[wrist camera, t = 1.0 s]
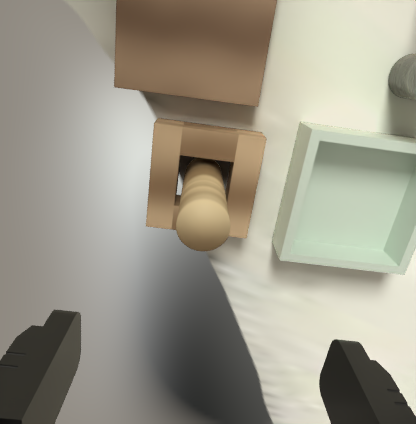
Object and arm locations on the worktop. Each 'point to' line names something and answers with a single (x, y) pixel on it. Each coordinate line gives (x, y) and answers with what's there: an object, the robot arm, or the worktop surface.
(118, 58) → the plate
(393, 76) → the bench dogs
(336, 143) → the tray
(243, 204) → the holder block
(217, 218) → the dowel
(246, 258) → the worktop surface
